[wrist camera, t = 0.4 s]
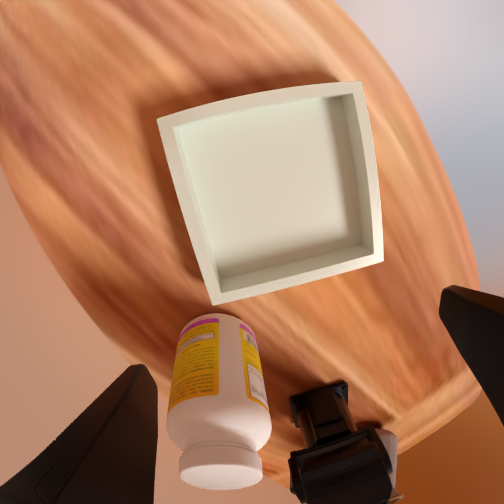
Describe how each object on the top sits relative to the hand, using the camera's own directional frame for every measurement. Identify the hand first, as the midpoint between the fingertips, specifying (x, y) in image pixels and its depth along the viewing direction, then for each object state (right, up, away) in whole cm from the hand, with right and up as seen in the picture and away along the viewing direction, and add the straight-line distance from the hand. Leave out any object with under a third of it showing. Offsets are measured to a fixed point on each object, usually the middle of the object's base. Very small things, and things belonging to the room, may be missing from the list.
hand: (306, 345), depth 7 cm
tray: (0, +7, +12) cm, 14 cm away
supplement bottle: (-4, -5, +17) cm, 18 cm away
